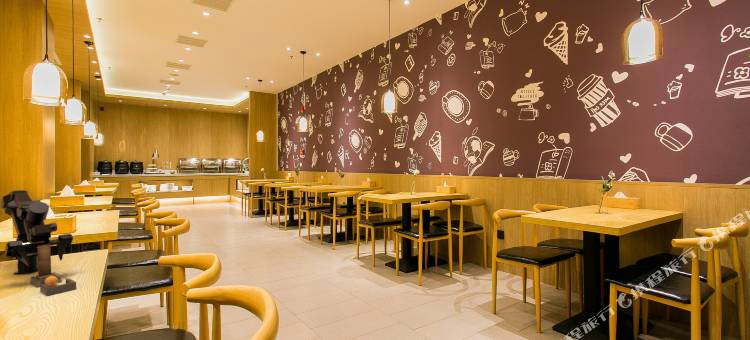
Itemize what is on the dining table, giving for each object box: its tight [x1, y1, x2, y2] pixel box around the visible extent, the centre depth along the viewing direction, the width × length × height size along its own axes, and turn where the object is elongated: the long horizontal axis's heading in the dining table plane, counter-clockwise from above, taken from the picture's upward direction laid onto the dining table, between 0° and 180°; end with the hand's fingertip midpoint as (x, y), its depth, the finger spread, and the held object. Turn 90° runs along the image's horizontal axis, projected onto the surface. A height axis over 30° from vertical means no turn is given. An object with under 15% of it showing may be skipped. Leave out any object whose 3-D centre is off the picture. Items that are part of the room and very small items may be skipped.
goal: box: [39, 277, 77, 297], centre depth 129 cm, size 8×8×2 cm
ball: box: [45, 276, 58, 287], centre depth 133 cm, size 4×4×4 cm
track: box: [29, 271, 63, 288], centre depth 137 cm, size 8×7×2 cm
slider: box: [34, 244, 55, 284], centre depth 137 cm, size 6×4×13 cm
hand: (45, 262), depth 137 cm, fingers open, 9 cm apart
